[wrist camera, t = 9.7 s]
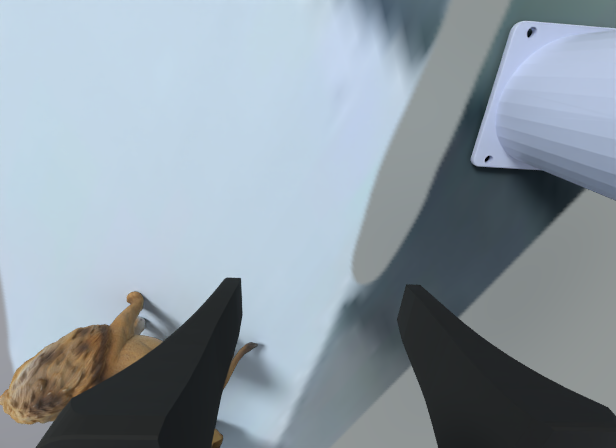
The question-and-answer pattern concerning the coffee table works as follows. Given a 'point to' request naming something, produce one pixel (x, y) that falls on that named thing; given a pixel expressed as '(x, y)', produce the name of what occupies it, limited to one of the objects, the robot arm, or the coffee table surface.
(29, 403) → the lion figurine
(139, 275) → the coffee table surface
